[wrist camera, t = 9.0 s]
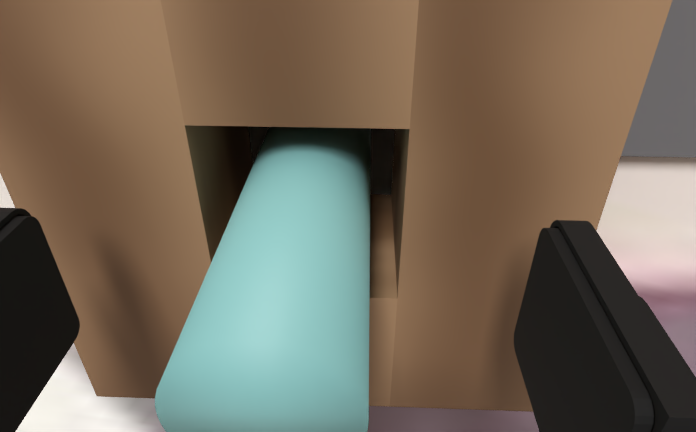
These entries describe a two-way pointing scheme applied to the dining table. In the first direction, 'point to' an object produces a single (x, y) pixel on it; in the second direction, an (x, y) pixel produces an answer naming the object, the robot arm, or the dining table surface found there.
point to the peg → (283, 298)
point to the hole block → (323, 112)
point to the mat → (669, 92)
